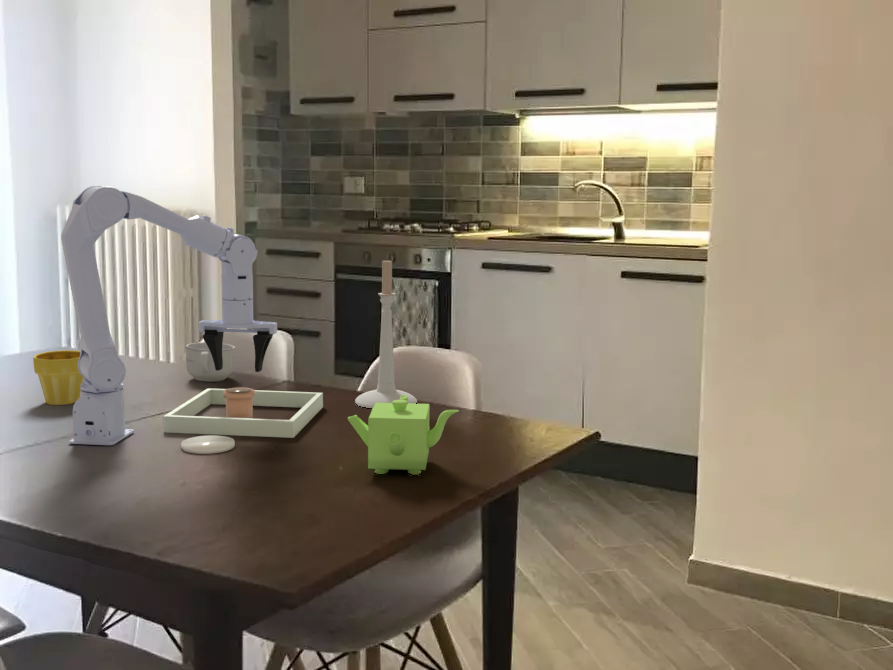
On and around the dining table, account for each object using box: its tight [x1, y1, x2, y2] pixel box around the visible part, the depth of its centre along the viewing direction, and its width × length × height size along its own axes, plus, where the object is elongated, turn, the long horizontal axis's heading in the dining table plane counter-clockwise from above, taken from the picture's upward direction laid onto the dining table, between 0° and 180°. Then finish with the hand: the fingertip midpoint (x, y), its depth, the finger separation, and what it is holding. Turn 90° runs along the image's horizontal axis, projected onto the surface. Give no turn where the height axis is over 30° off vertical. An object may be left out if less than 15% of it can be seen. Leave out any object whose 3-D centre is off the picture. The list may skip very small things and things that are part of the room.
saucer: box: [180, 434, 236, 455], centre depth 173 cm, size 9×9×1 cm
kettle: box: [347, 395, 460, 474], centre depth 162 cm, size 15×14×11 cm
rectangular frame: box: [163, 388, 324, 439], centre depth 192 cm, size 24×24×3 cm
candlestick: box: [354, 258, 418, 410], centre depth 205 cm, size 13×13×30 cm
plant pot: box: [32, 349, 85, 406], centre depth 203 cm, size 10×10×10 cm
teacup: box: [185, 341, 236, 383], centre depth 226 cm, size 14×11×8 cm
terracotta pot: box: [223, 387, 256, 419], centre depth 190 cm, size 6×6×6 cm
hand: (238, 370), depth 189 cm, fingers open, 7 cm apart
